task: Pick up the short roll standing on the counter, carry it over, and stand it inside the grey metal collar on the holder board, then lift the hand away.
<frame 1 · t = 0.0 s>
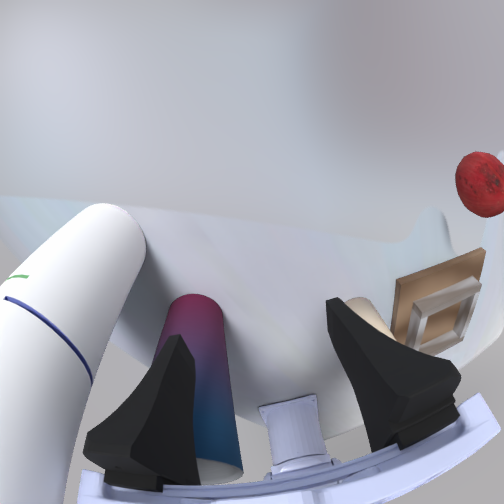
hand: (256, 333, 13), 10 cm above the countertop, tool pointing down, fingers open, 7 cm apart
red round fruit: (456, 172, 20), on the countertop
cup: (195, 314, 25), on the countertop
roll: (353, 315, 27), on the countertop
holder: (434, 314, 29), on the countertop
cylindrical container: (107, 243, 21), on the countertop
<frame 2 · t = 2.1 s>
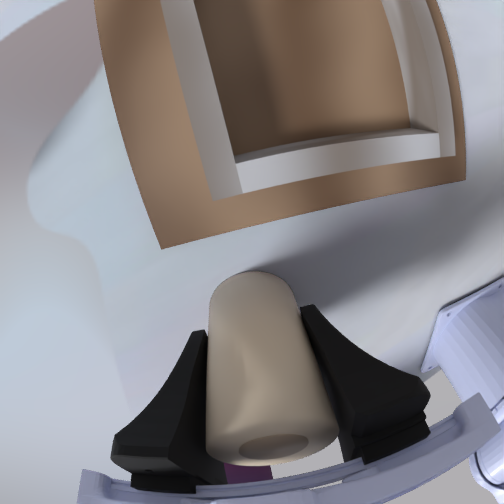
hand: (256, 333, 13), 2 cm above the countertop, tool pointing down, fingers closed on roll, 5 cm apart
cup: (235, 431, 22), on the countertop
roll: (252, 307, 15), on the countertop, touching gripper
holder: (305, 48, 9), on the countertop
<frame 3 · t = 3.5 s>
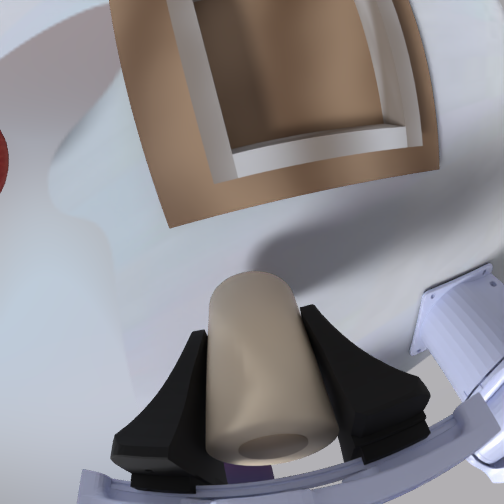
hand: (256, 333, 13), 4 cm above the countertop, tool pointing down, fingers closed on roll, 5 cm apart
red round fruit: (6, 155, 11), on the countertop
cup: (233, 411, 24), on the countertop
roll: (252, 307, 15), point 2 cm above the countertop, touching gripper
holder: (291, 58, 11), on the countertop
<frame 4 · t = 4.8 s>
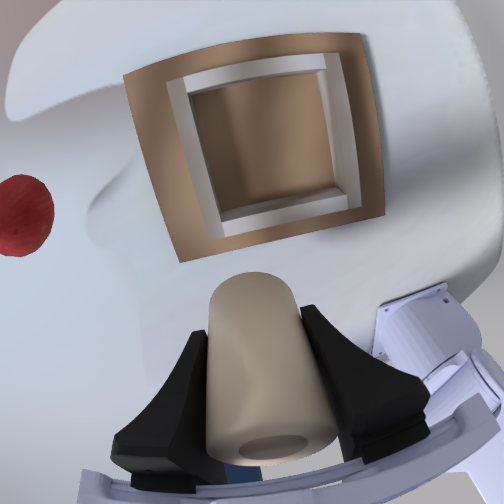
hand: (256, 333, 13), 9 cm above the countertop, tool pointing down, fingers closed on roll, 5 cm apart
red round fruit: (46, 198, 17), on the countertop
cup: (226, 398, 30), on the countertop
roll: (252, 308, 15), point 7 cm above the countertop, touching gripper
holder: (266, 139, 17), on the countertop
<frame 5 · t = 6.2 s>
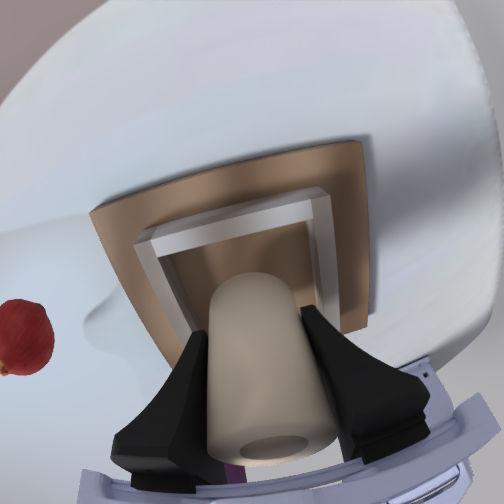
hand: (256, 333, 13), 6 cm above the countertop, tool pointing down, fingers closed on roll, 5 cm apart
red round fruit: (42, 306, 18), on the countertop
cup: (222, 446, 31), on the countertop
roll: (252, 308, 15), point 4 cm above the countertop, touching gripper
holder: (247, 273, 18), on the countertop
when the fingers open (4 cm above the countertop, at t = 7.3 s): roll drops 1 cm, resting on holder.
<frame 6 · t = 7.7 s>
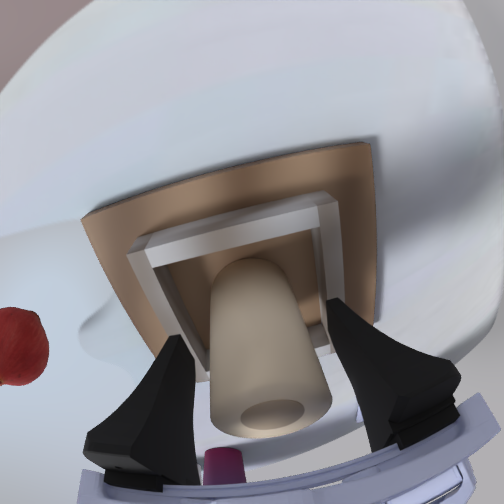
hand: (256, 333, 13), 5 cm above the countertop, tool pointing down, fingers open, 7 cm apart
red round fruit: (36, 314, 17), on the countertop
cup: (223, 452, 30), on the countertop
roll: (250, 292, 16), point 1 cm above the countertop, touching holder
holder: (248, 282, 17), on the countertop
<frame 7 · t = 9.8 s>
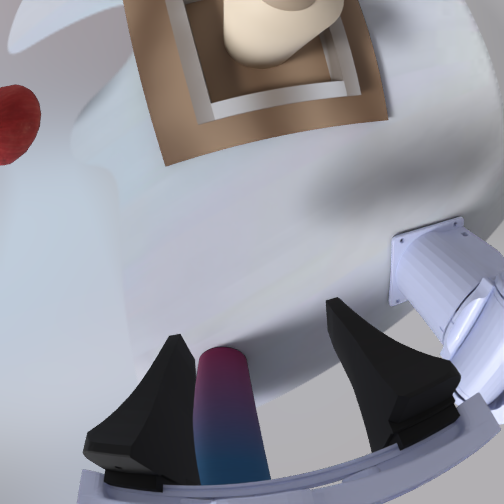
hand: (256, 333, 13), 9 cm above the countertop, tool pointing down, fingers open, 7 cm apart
red round fruit: (35, 120, 14), on the countertop
cup: (222, 361, 27), on the countertop
roll: (260, 38, 13), point 1 cm above the countertop, touching holder
holder: (257, 41, 14), on the countertop
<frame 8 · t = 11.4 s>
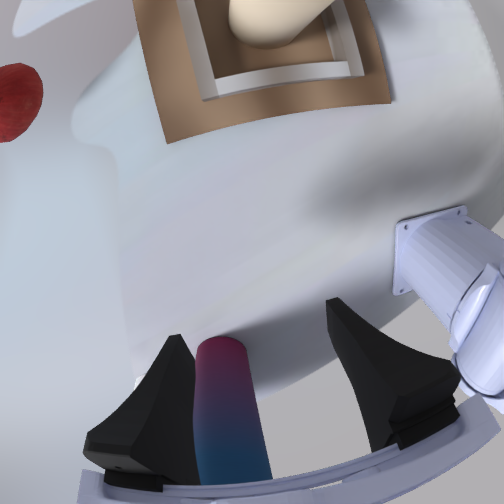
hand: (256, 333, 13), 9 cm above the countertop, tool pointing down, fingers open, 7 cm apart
red round fruit: (36, 101, 14), on the countertop
cup: (221, 352, 27), on the countertop
roll: (264, 20, 13), point 1 cm above the countertop, touching holder
holder: (261, 24, 14), on the countertop
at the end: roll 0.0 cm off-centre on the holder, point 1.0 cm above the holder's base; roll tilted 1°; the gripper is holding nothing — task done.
